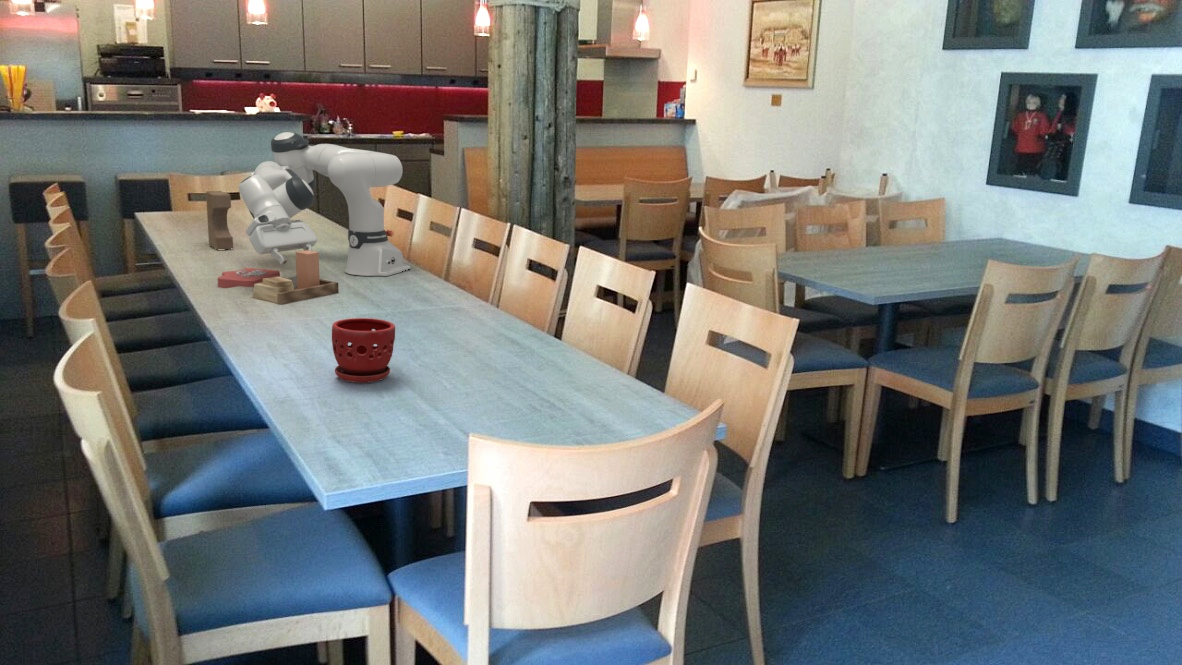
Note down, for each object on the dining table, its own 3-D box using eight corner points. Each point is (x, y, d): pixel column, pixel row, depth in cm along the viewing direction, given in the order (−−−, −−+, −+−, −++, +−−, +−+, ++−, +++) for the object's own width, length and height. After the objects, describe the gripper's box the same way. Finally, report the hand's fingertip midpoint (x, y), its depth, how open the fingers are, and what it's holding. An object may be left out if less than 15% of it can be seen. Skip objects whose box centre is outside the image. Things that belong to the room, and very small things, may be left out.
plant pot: (381, 389, 195) (380, 333, 192) (322, 383, 197) (320, 327, 194) (404, 371, 207) (404, 319, 204) (348, 365, 209) (347, 313, 206)
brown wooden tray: (308, 289, 282) (307, 276, 281) (338, 296, 275) (338, 282, 274) (249, 300, 264) (249, 286, 263) (280, 308, 258) (280, 293, 257)
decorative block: (233, 249, 338) (230, 194, 333) (217, 250, 335) (214, 194, 329) (224, 245, 346) (221, 190, 341) (208, 246, 343) (205, 191, 338)
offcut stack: (273, 293, 270) (273, 274, 268) (299, 299, 264) (299, 280, 263) (252, 297, 264) (251, 278, 262) (278, 303, 258) (278, 284, 257)
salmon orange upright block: (308, 290, 276) (306, 250, 273) (319, 293, 273) (318, 252, 270) (297, 292, 272) (295, 251, 269) (309, 295, 270) (307, 254, 267)
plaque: (238, 265, 295) (282, 268, 293) (238, 277, 296) (282, 280, 294) (205, 275, 278) (252, 279, 276) (206, 288, 279) (253, 292, 277)
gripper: (298, 225, 284) (320, 262, 282) (240, 232, 267) (263, 271, 265) (307, 213, 281) (330, 250, 278) (250, 219, 264) (273, 258, 261)
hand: (297, 260), depth 271 cm, fingers open, 8 cm apart
